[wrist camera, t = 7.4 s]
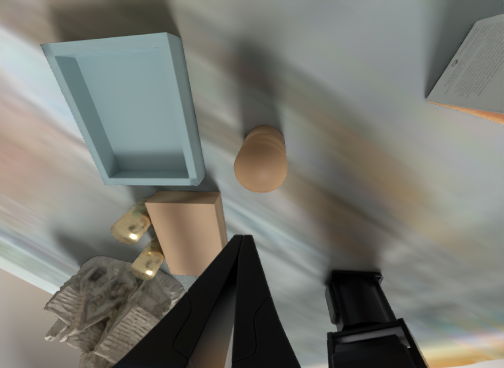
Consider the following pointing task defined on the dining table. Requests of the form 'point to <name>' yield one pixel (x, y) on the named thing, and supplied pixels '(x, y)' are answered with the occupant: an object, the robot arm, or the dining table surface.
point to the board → (188, 228)
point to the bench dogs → (131, 232)
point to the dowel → (262, 160)
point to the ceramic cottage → (109, 309)
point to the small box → (476, 73)
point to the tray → (132, 107)
